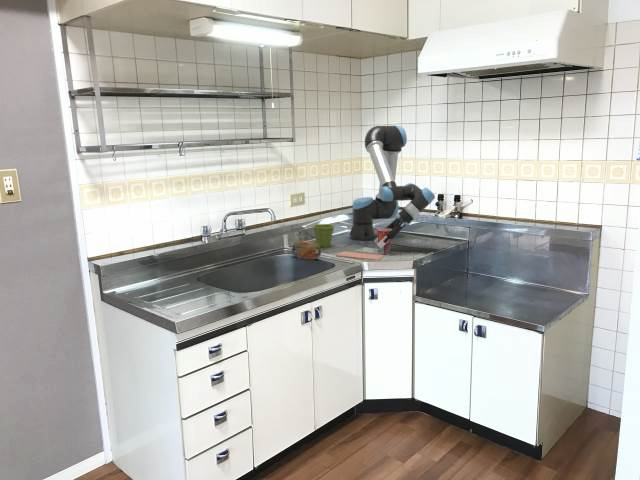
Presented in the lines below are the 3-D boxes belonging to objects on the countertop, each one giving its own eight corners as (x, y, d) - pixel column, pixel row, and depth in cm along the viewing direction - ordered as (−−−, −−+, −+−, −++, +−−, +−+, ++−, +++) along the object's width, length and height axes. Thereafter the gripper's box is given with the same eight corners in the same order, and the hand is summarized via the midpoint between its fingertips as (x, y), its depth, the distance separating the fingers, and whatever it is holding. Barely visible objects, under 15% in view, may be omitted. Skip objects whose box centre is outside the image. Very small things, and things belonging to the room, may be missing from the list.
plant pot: (326, 249, 277) (326, 228, 275) (308, 246, 284) (308, 226, 282) (339, 245, 286) (339, 225, 284) (321, 243, 293) (321, 223, 291)
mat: (344, 252, 270) (344, 251, 270) (384, 256, 260) (384, 255, 260) (335, 256, 261) (335, 255, 261) (377, 260, 252) (377, 259, 252)
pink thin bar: (347, 250, 273) (347, 250, 273) (387, 255, 264) (387, 254, 264) (345, 251, 271) (345, 251, 271) (385, 256, 262) (385, 255, 262)
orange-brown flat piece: (292, 257, 259) (291, 240, 258) (295, 256, 262) (295, 239, 261) (319, 260, 253) (319, 243, 251) (322, 259, 255) (322, 242, 254)
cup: (392, 250, 274) (392, 227, 271) (392, 254, 266) (393, 230, 263) (374, 250, 275) (374, 227, 272) (374, 253, 266) (374, 230, 264)
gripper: (419, 221, 257) (386, 254, 259) (409, 215, 278) (378, 245, 280) (408, 211, 256) (375, 243, 258) (399, 205, 277) (369, 235, 279)
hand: (377, 244), depth 269 cm, fingers open, 9 cm apart
